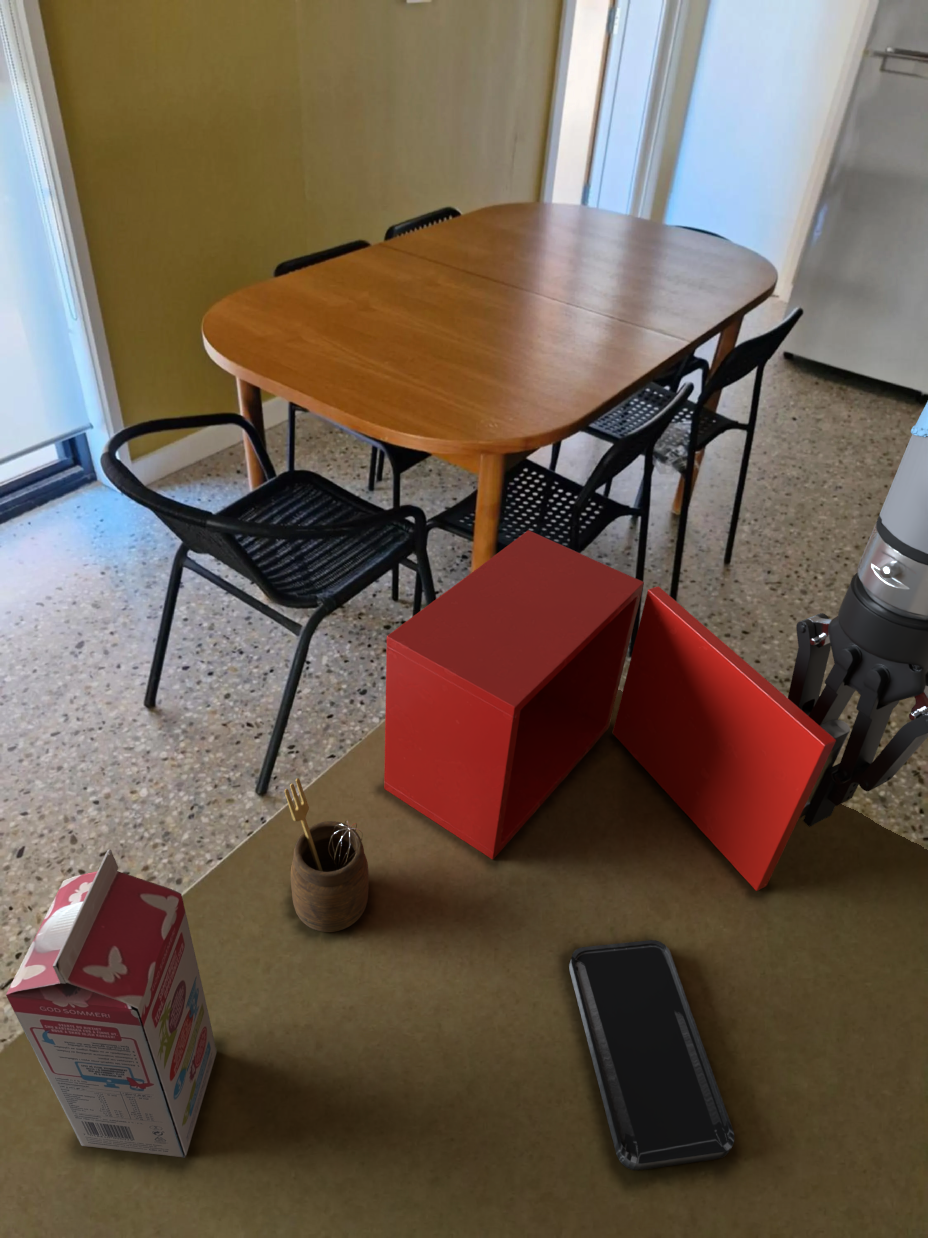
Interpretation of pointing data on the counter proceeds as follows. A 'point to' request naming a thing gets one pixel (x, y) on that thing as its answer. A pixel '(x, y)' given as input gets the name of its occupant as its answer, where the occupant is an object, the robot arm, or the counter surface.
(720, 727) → the red cabinet door
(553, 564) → the cabinet
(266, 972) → the counter surface
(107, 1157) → the counter surface
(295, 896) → the utensil holder
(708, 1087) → the phone
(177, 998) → the juice carton
